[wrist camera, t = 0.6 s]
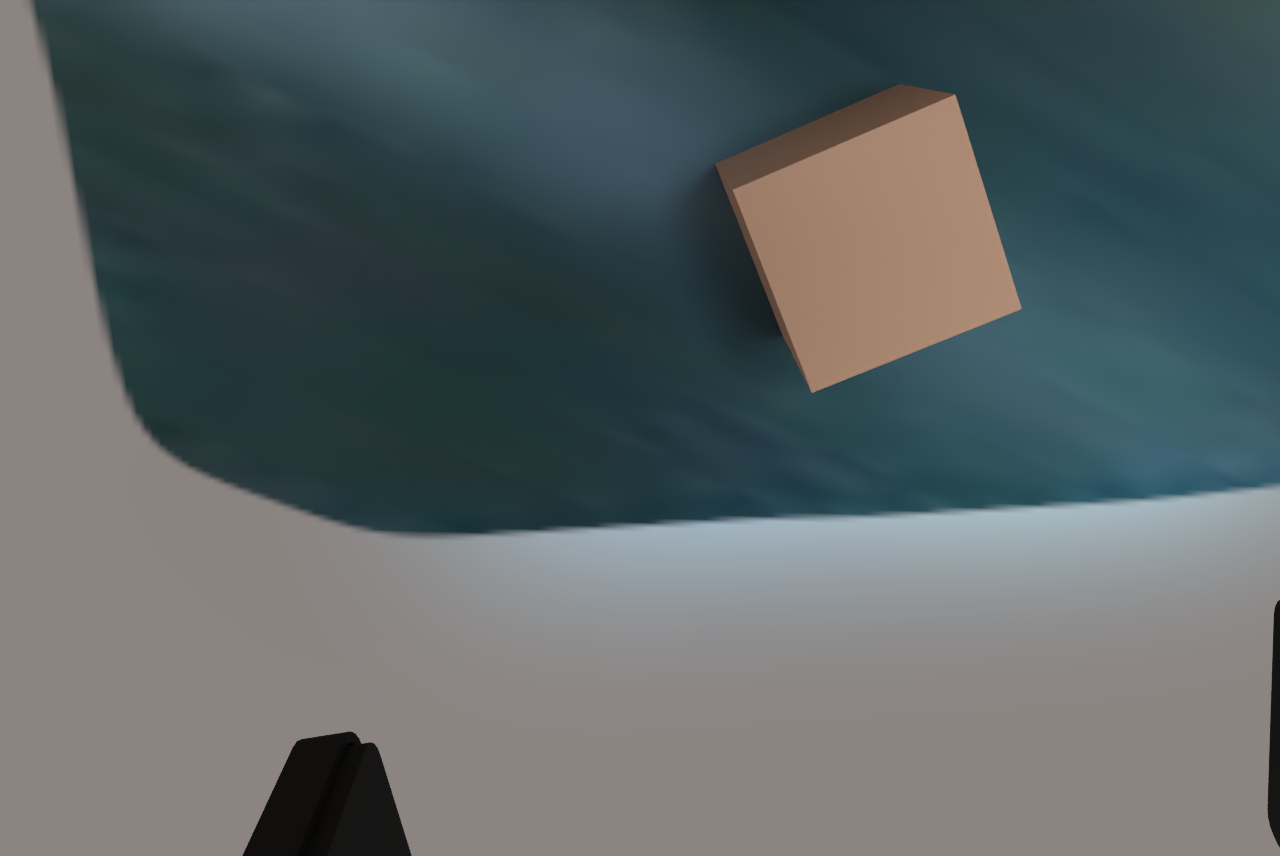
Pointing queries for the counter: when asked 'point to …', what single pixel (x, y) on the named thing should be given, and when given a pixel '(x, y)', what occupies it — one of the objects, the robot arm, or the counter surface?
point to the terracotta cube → (871, 232)
